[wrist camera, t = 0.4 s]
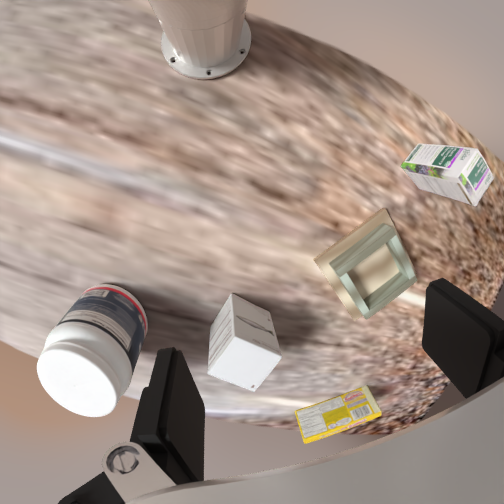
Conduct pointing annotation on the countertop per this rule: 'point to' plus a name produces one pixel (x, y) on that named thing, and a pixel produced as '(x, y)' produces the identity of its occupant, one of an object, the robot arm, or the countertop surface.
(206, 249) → the countertop surface
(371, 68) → the countertop surface
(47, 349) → the supplement tub
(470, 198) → the syrup box
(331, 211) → the countertop surface
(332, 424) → the candy box
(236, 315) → the supplement box
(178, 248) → the countertop surface
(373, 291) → the socket block
